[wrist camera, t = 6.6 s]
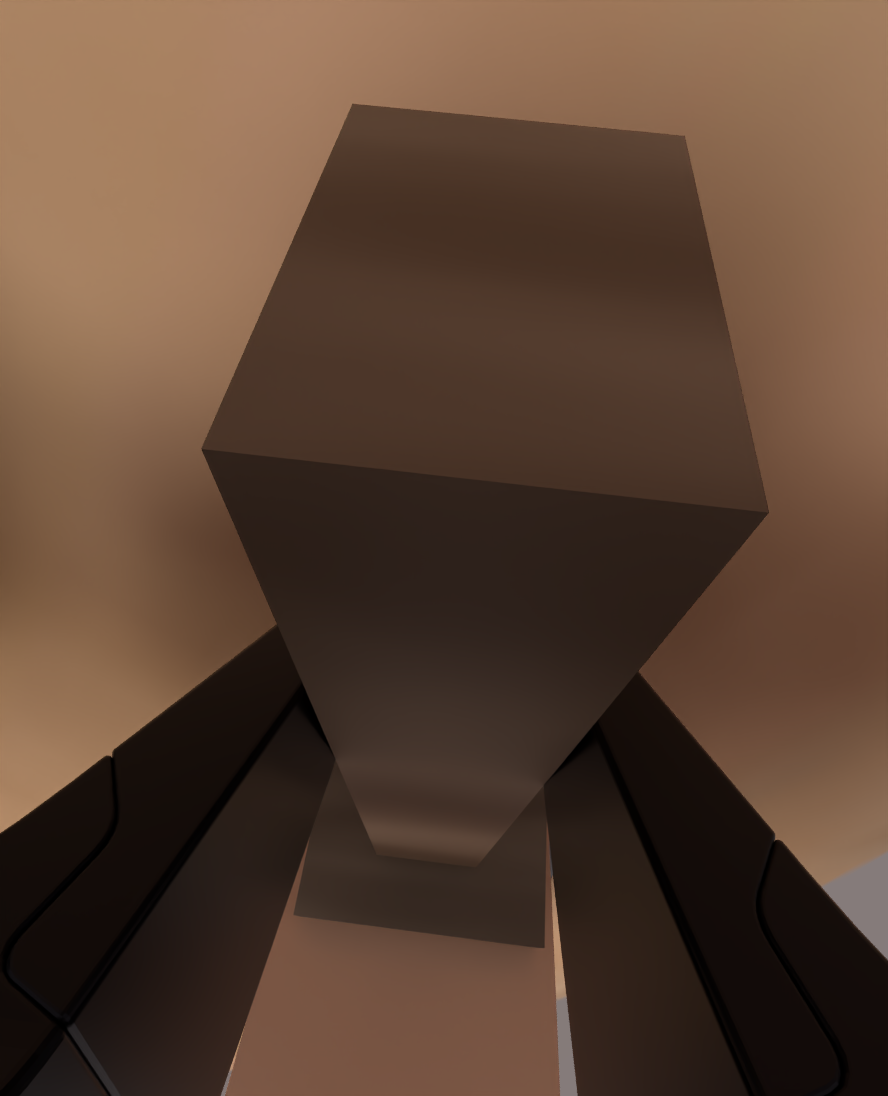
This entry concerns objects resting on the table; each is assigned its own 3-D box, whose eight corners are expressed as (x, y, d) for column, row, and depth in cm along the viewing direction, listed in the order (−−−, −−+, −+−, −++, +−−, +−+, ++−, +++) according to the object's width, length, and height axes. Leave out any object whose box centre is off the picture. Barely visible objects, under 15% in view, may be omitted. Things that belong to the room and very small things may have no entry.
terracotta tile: (321, 805, 20) (214, 1206, 13) (318, 767, 19) (197, 1192, 12) (534, 833, 20) (545, 1255, 13) (547, 797, 18) (566, 1248, 11)
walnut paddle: (125, 80, 5) (-495, 740, 2) (922, 160, 4) (1465, 993, 2) (340, 720, 18) (299, 916, 15) (541, 745, 18) (537, 947, 15)
